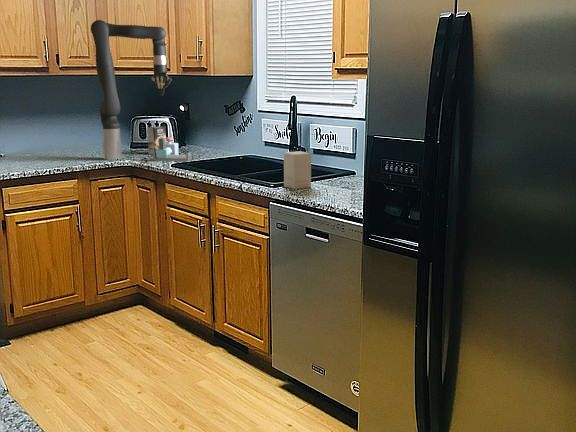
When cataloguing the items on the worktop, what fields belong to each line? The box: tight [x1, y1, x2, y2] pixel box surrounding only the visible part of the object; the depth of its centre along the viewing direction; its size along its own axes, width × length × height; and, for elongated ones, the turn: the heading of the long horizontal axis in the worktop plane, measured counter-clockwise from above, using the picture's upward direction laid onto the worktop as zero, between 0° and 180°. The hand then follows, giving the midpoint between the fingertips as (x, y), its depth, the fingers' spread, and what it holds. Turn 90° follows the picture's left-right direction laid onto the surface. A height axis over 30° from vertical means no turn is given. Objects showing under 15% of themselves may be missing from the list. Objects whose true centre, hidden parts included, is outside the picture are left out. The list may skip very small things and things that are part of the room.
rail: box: [152, 151, 192, 162], centre depth 354 cm, size 20×6×4 cm, turn 82°
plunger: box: [166, 137, 173, 144], centre depth 364 cm, size 3×3×6 cm
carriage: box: [156, 138, 169, 158], centre depth 353 cm, size 6×5×10 cm
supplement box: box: [283, 150, 312, 190], centre depth 275 cm, size 9×9×15 cm
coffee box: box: [147, 126, 167, 156], centre depth 378 cm, size 9×6×16 cm
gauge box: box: [166, 142, 180, 155], centre depth 364 cm, size 8×8×8 cm
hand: (161, 95), depth 360 cm, fingers closed
